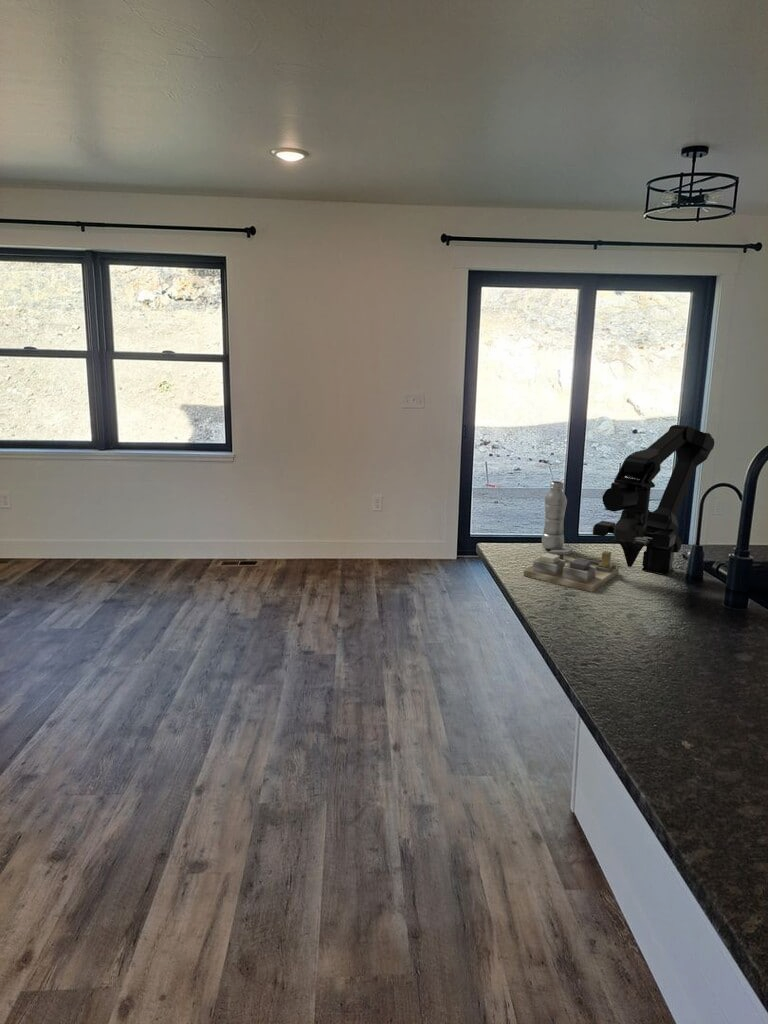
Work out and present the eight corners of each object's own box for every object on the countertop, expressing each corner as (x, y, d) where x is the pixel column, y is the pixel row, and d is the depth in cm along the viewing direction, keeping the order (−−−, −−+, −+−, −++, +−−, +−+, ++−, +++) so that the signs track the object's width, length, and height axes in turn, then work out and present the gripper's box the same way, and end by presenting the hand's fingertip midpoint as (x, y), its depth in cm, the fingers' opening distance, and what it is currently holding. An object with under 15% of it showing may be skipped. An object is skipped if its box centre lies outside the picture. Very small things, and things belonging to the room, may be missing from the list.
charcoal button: (589, 569, 160) (590, 561, 159) (583, 573, 157) (584, 565, 156) (575, 566, 162) (576, 559, 161) (569, 570, 159) (570, 562, 159)
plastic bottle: (540, 551, 187) (545, 483, 182) (541, 545, 193) (546, 479, 189) (563, 553, 185) (568, 485, 181) (563, 547, 191) (569, 481, 187)
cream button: (559, 563, 164) (559, 555, 164) (553, 566, 162) (553, 558, 161) (546, 560, 167) (546, 552, 166) (539, 563, 164) (540, 555, 163)
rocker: (572, 552, 173) (572, 549, 173) (568, 554, 171) (567, 551, 171) (552, 552, 177) (552, 549, 176) (548, 554, 174) (548, 552, 174)
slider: (612, 568, 166) (614, 552, 165) (609, 570, 165) (610, 554, 164) (601, 565, 168) (602, 550, 167) (597, 567, 167) (599, 552, 166)
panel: (618, 573, 168) (619, 558, 167) (591, 592, 154) (593, 575, 153) (553, 560, 179) (554, 545, 178) (523, 575, 165) (524, 560, 164)
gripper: (586, 506, 158) (581, 566, 162) (666, 518, 147) (658, 582, 151) (603, 499, 167) (598, 556, 170) (679, 509, 155) (672, 571, 159)
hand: (629, 566), depth 162 cm, fingers closed
